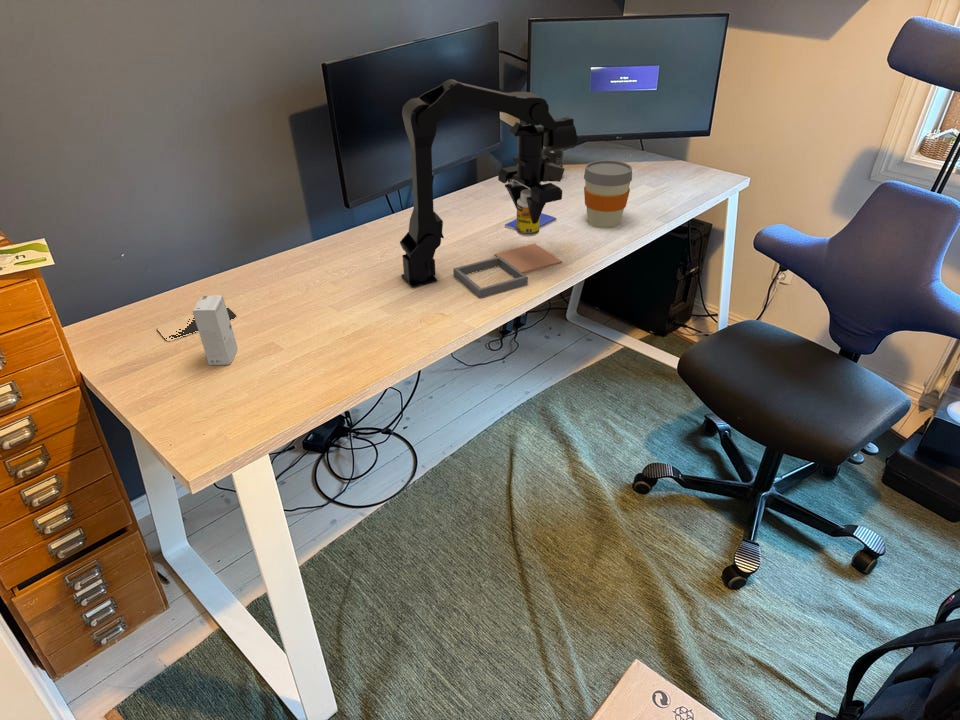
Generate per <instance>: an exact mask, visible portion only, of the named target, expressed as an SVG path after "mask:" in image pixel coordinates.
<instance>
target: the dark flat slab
mask: <svg viewBox="0 0 960 720" xmlns="http://www.w3.org/2000/svg"><path fill="white" fill-rule="evenodd" d="M226 309H227V312H228V316H229V319H230V320H231V319H234V318H235V317H236V318H237V315H236V313H234V311H232V309H230V308H229V307H228V308H226ZM193 319H195V318H193ZM189 320H190V319H189ZM234 320H235V319H234ZM192 321H193V322H191V324H189V326H187V328H185V330H182V332H178V333H179V334H181V335H178V334H176V335H178V336H176V335H171V336H172V337H174V338H177V337H180V336H183V335H186V334H189V333H193V332H195V331H198V328H197V325H196V321H195V320H192ZM188 322H189V321H188ZM187 324H188V323H187ZM179 330H181V329H179ZM176 332H177V331H176ZM183 332H184V333H183ZM171 336H169V338H170V337H171ZM166 339H167V338H166ZM171 339H173V338H171Z"/></svg>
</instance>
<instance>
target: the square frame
mask: <svg viewBox="0 0 960 720" xmlns="http://www.w3.org/2000/svg"><path fill="white" fill-rule="evenodd" d="M498 265H499V266H500V267H499V266H498ZM495 266H496V267H499V268H501V269H502V270H503V271H505V272H506V273H507V274H508V275H510V276H511V277H513V278H512V279H509V280H505V281H502V282H498V283H494V284H490V285H487V286H484V287H483V286H482V287H481V286H479V285H478V284H477V283H476V282H475V281H473V280H472V279H471V278H470V277H469V276H467V275H469V273H470V274H473V273H472V272H474V273H477V272H481V271H484V270H488V268H489V269H491V268H495ZM452 269H453V277H454V278H456V280H458V281H459V282H460V283H461V284H462V283H463V286H465V288H467V289H468V290H470V291H471V292H472V293H473V294H474V295H475V296H476V297H478V298H479V299H481V298H486V297H490V296H493V295H496V294H500V293H502V292H507V291H511V290H514V289H517V288H520V287H523V286H528V285H529V281H528V279H529V276H527V275H526V273H522V272H521V271H519V270H518V269H516V268H515V267H514V266H512V265H511V264H510V263H508V262H507V261H505V260H504V259H503V258H501V257H500V256H499V257H495V256H494V257H492V258H488V259H484V260H480V261H476V262H473V263H469V264H466V265H461V266H458V267H454V268H452ZM480 270H481V271H480ZM476 271H477V272H476ZM465 274H466V275H465Z"/></svg>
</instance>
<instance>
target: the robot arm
mask: <svg viewBox="0 0 960 720" xmlns="http://www.w3.org/2000/svg"><path fill="white" fill-rule="evenodd" d="M459 104H462V105H466V106H470V107H475V108H481V109H486V110H490V111H495V112H500V113H504V114H507V115H510V116H512V117H514V118H516V119H518V120H520V121H523V122H525V123H527V124H524V125H522V124H521V123H520V122H517V121H516V122H515V123H514V124H513V126H512V127H510V129H508V133H509V134H511V135H512V136H514V137H517V156H513V162H514V163H516V164H517V165H511V166H508V167H503V168H500V170H499V171H498V174H497V175H498V178H497V179H498V181H499V182H500V183H502V184H504V188H505V189H506V190H507V192H508V194H509V196H510V198H511V200H512V202H513V204H514V207H515V209H516V210H517V201H518V199H519V198H521V197H520V196H521V191H522V190H525V189H531V197H527V198H526V199H527V204H528V208H529V212H530V216H531V220H532V223H533V224H535V223H537V222H538V220H539V217H540V215H541V213H542V212H543V210H544V208H545V205H546V204H547V203H552V202H556V201H561V200H562V199H563V190H562V189H561V187H560V186H558V185H556V184H554V183H553V182H549V181H548V179H553V180H557V181H556V182H558V183H561V181H562V178H563V175H564V173H565V168H564V167H563V168H562V167H560V166H558V165H556V164H553V163H550V158H548V157H546V156H543V149H544V148H545V147H546V148H547V149H548V150H549V151H556V150H563V151H564V150H572V149H575V147H576V146H577V144H578V137H579V136H578V134H577V128H576V126H575V124H574V122H575V120H574V118H573V117H570V116H566V117H562V118H556V119H554V118H553V116H552V115H551V113H550V112H549V110H550V108H549V107H550V106H549V104H548V101H547V100H546V99H545V98H543V97H541V96H539V95H537V94H534V93H533V92H530V91H512V92H505V91H504V92H503V91H499V90H494V89H490V88H485V87H481V86H478V85H473V84H470V83H469V84H468V83H464V82H461V81H457V80H456V79H452V78H451V79H446V80H445V81H444V82H442V83H441V84H439V85H438V86H437V87H434V88H432V89H430V90H428V91H426V92H424V93H422V94H421V95H420V96H417V97H412V98H410V99H409V100H407V101H406V102H405V104H403V106H402V109H401V111H402V112H401V114H402V115H401V116H402V120H403V125H404V129H405V132H406V135H407V138H408V141H409V145H410V157H411V158H410V159H411V160H410V161H411V174H412V175H411V177H412V178H411V179H412V180H411V181H412V198H413V199H412V200H413V201H412V202H413V209H412V213H411V216H410V218H409V226H408V232H407V233H406V234H405V235H404V236H403V237H402V239H401V240H400V241H399V245H400V247H401V249H402V250H403V251H404V253H405V254H402V264H403V265H402V267H403V274H401V278H402V279H403V280H404V282H406V283H407V284H408V285H409V286H410V287H411V288H416V287H420V286H423V285H427V284H431V283H434V282H438V278H437V277H436V259H434V256H435V254H436V251H437V249H438V248H439V247H440V246H441V243H442V239H444V238H445V237H444V234H443V226H444V221H443V220H442V218H441V217H440V216H439V215H438V214H437V213H436V211H434V188H433V187H434V186H433V185H434V184H433V155H432V154H433V153H432V151H433V150H432V148H433V144H434V141H435V138H436V135H437V129H438V123H439V122H440V121H442V120H443V119H444V118H446V117H447V116H448V115H449V113H451V111H453V109H454V108H455V107H456V106H457V105H459ZM536 126H537V127H536ZM541 182H543V184H541ZM546 182H548V183H546Z"/></svg>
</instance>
